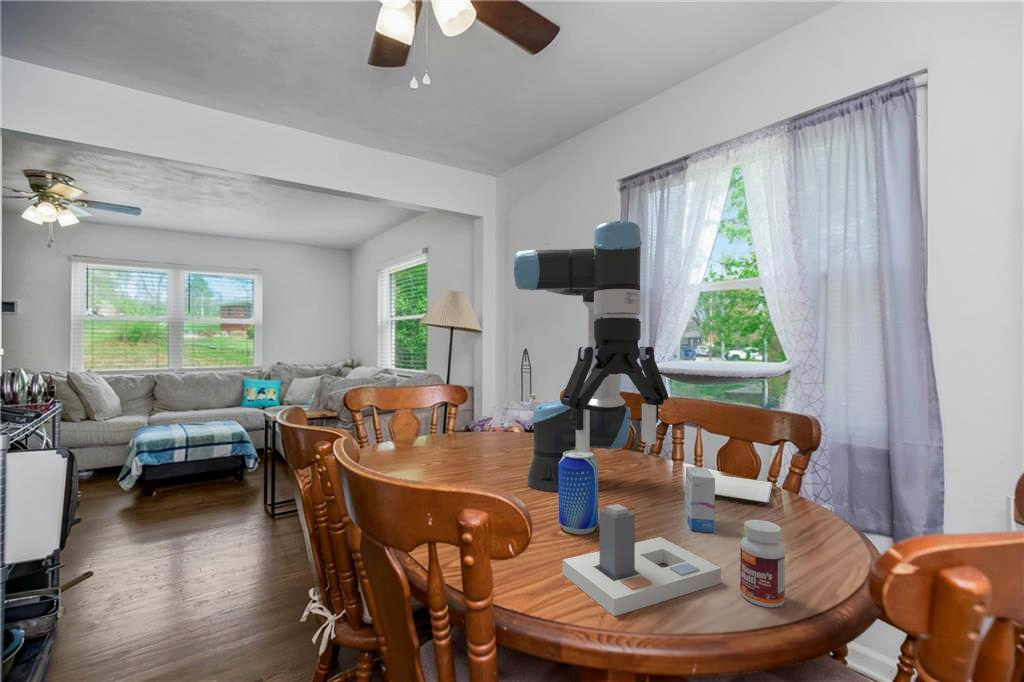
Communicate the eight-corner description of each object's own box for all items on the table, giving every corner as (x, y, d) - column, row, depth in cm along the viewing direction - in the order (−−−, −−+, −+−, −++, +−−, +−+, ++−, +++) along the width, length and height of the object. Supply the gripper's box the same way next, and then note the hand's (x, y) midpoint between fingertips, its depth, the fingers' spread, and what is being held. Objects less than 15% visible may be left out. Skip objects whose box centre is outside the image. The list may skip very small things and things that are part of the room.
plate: (772, 489, 130) (772, 482, 130) (768, 510, 114) (768, 501, 114) (700, 479, 140) (700, 472, 140) (687, 496, 124) (687, 489, 124)
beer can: (602, 524, 104) (602, 451, 104) (592, 538, 96) (592, 459, 96) (565, 518, 107) (565, 447, 107) (553, 531, 100) (553, 455, 100)
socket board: (562, 574, 81) (562, 557, 81) (660, 550, 91) (660, 535, 91) (614, 616, 69) (614, 597, 69) (721, 583, 78) (721, 566, 78)
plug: (599, 582, 78) (599, 505, 78) (618, 577, 80) (618, 501, 80) (614, 594, 75) (614, 513, 75) (634, 588, 77) (634, 509, 77)
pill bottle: (735, 599, 73) (735, 526, 73) (746, 584, 78) (746, 515, 78) (780, 613, 69) (780, 536, 69) (788, 596, 74) (788, 524, 74)
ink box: (715, 533, 99) (715, 476, 99) (690, 531, 100) (690, 475, 100) (707, 518, 107) (707, 466, 107) (684, 517, 108) (684, 465, 108)
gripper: (565, 314, 69) (564, 459, 69) (690, 318, 80) (690, 443, 80) (539, 316, 76) (539, 448, 76) (658, 320, 87) (658, 435, 87)
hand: (616, 446), depth 78 cm, fingers open, 13 cm apart
